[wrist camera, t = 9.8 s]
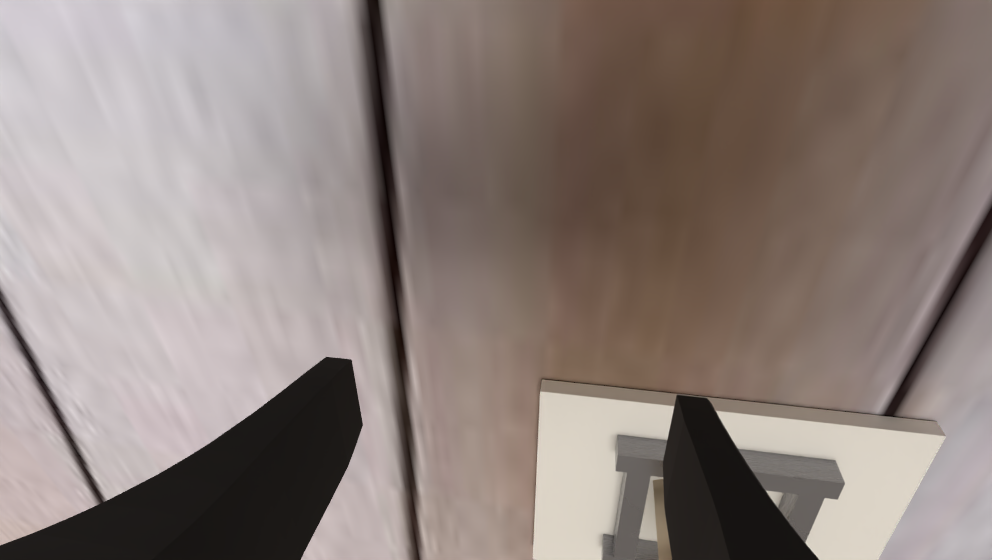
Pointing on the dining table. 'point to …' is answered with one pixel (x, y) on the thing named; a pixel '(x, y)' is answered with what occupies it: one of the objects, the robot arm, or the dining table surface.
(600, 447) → the socket board
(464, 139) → the dining table surface
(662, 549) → the birch block
